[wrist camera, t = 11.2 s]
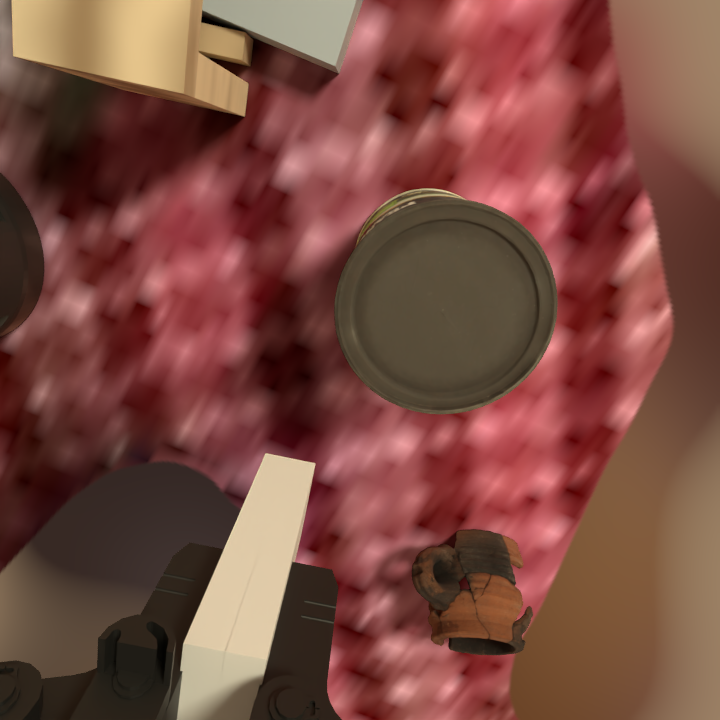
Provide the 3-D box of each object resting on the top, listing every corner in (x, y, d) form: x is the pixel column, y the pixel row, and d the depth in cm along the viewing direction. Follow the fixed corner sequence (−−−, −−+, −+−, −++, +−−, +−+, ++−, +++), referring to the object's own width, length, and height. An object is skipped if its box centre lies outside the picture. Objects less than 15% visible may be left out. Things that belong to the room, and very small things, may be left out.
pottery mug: (549, 548, 46) (561, 653, 41) (471, 569, 52) (473, 662, 47) (447, 503, 41) (446, 615, 36) (376, 532, 47) (366, 631, 42)
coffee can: (325, 282, 38) (292, 341, 25) (408, 156, 35) (421, 149, 22) (438, 358, 40) (464, 452, 26) (527, 245, 36) (607, 287, 23)
